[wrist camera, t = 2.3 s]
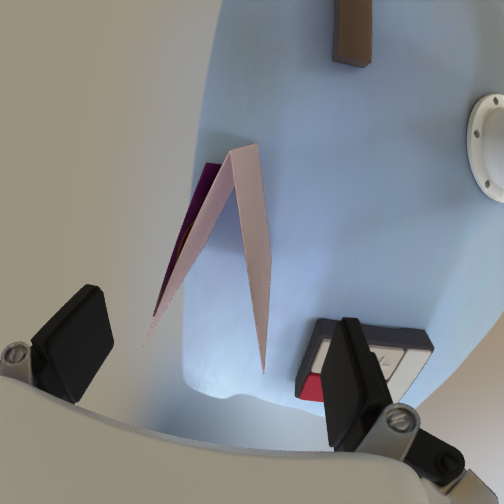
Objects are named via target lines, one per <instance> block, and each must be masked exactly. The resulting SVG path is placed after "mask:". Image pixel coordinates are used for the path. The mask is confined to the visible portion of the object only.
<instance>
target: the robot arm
mask: <svg viewBox="0 0 504 504" xmlns="http://www.w3.org/2000/svg"><path fill="white" fill-rule="evenodd" d="M467 151H468V158H469V162H470V167H471V170H472V173H473V175H474V178H475V180H476V182H477V184H478V185H479V187H480V188H481V189H482V191H483V192H484V193H485V194H486V195H487V196H488V197H490V198H491V199H493V200H495V201H498V202H501V203H504V95H502V94H489V95H486V96H484V97H482V98H481V99H480V100H479V101H478V102H477V103H476V104H475V106H474V108H473V110H472V112H471V114H470V118H469V122H468V128H467ZM31 342H32V346H31V347H30V346H29V345H28V344H26V343H25V342H21V341H20V342H14V343H11V344H10V345H8V346H7V347H6V348H5V349H4V350H3V352H2V354H1V360H0V504H498V503H499V502H498V498H497V496H496V494H495V493H494V492H493V491H492V490H491V489H490V488H489V487H488V486H487V485H486V484H485V483H484V482H483V481H482V480H481V479H480V478H479V477H478V476H477V475H476V474H475V473H474V472H473V471H472V470H471V469H469V470H465V468H464V467H465V460H464V457H463V455H462V453H461V452H460V451H459V450H458V449H456V448H455V447H453V446H451V445H449V444H447V443H445V442H444V441H442V440H440V439H438V438H436V437H435V436H433V435H431V434H429V433H428V432H426V431H424V430H422V429H421V428H420V424H421V422H420V417H419V415H418V413H417V412H416V410H415V409H414V408H412V407H411V406H409V405H406V404H404V403H393V400H392V397H391V394H390V391H389V389H388V386H387V383H386V380H385V377H384V375H383V372H382V369H381V366H380V364H379V361H378V358H377V356H376V354H375V353H374V352H371V351H370V348H369V346H368V343H367V340H366V338H365V335H364V333H363V330H362V327H361V325H360V322H359V320H358V319H357V318H346V317H343V318H342V320H341V321H337V323H336V326H335V329H334V332H333V335H332V339H331V342H330V345H329V348H328V351H327V354H326V357H325V360H324V363H323V366H322V369H321V373H320V379H321V386H322V393H323V401H324V408H325V416H326V424H327V432H328V441H329V446H330V447H334V452H311V451H310V452H309V451H307V452H306V451H282V450H266V449H254V448H244V447H235V446H227V445H220V444H214V443H207V442H202V441H196V440H191V439H186V438H181V437H176V436H172V435H167V434H163V433H159V432H155V431H151V430H148V429H144V428H140V427H137V426H133V425H130V424H127V423H124V422H120V421H117V420H114V419H111V418H108V417H105V416H103V415H100V414H97V413H94V412H92V411H89V410H86V409H84V408H81V407H79V406H76V405H74V404H75V403H76V402H79V401H80V399H81V398H82V396H83V394H84V393H85V391H86V389H87V388H88V386H89V384H90V383H91V381H92V380H93V378H94V376H95V375H96V373H97V372H98V370H99V368H100V367H101V365H102V364H103V362H104V360H105V359H106V357H107V356H108V354H109V353H110V351H111V350H112V348H113V345H114V339H113V335H112V331H111V327H110V323H109V318H108V313H107V308H106V303H105V298H104V294H103V291H101V289H100V288H99V287H98V286H94V285H89V284H86V285H85V286H83V287H82V288H81V289H80V290H79V291H78V292H77V293H76V294H75V295H74V296H73V297H72V298H71V299H70V300H69V301H68V302H67V303H66V304H65V305H64V306H63V307H62V308H61V309H60V310H59V311H58V312H57V313H56V314H55V315H54V316H53V317H52V318H51V319H50V320H49V321H48V322H47V323H46V324H45V325H44V326H43V327H42V328H41V329H40V330H39V331H38V332H37V333H36V335H35V336H34V337H33V338H32V339H31Z"/></svg>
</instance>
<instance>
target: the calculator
mask: <svg viewBox="0 0 504 504" xmlns="http://www.w3.org/2000/svg"><path fill="white" fill-rule="evenodd" d="M336 323H337V321H333V320H327V319H319V320H318V321H317V323H316V326H315V329H314V332H313V335H312V338H311V340H310V343H309V346H308V349H307V351H306V354H305V357H304V359H303V362H302V365H301V367H300V370H299V372H298V375H297V377H296V380H295V397H296V398H299V399H302V400H309V401H318V402H324V401H323V393H322V386H321V379H320V373H321V369H322V366H323V363H324V360H325V357H326V354H327V351H328V348H329V345H330V342H331V339H332V335H333V332H334V329H335V326H336ZM361 327H362V330H363V333H364V335H365V338H366V340H367V343H368V346H369V348H370V351H371V352H374V353H375V354H376V356H377V358H378V361H379V364H380V366H381V369H382V372H383V375H384V377H385V380H386V383H387V386H388V389H389V391H390V394H391V397H392V400H393V403H398V402H399V401H400V400H401V399H402V397H403V396H404V394H405V393H406V392H407V390H408V389H409V388H410V386H411V385H412V383H413V382H414V380H415V379H416V377H417V376H418V374H419V373H420V371H421V370H422V368H423V367H424V365H425V364H426V362H427V361H428V359H429V357H430V356H431V354H432V353H433V351H434V346H433V344H432V342H431V340H430V339H429V337H428V335H427V333H426V331H424V330H417V329H409V328H402V329H400V330H395V329H387V328H380V327H373V326H366V325H361Z"/></svg>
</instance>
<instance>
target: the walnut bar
mask: <svg viewBox="0 0 504 504" xmlns="http://www.w3.org/2000/svg"><path fill="white" fill-rule="evenodd" d="M371 57H372V0H335V11H334V37H333V55H332V61H333V62H338V63H343V64H348V65H353V66H357V67H361V68H364V67H366V66H367V65H368V64H370V63H371Z"/></svg>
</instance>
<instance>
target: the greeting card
mask: <svg viewBox="0 0 504 504" xmlns="http://www.w3.org/2000/svg"><path fill="white" fill-rule="evenodd" d="M234 186H235V190H236V197H237V204H238V211H239V218H240V224H241V231H242V238H243V245H244V252H245V258H246V265H247V272H248V278H249V285H250V292H251V298H252V305H253V311H254V318H255V324H256V331H257V337H258V344H259V350H260V357H261V363H262V369H263V375H264V369H265V355H266V342H267V328H268V313H269V297H270V281H271V264H272V258H271V249H270V240H269V232H268V223H267V214H266V206H265V198H264V189H263V181H262V173H261V165H260V157H259V149H258V143H254V144H250V145H246V146H243V147H239V148H235V149H232V150H230V151H229V153H228V155H227V156H226V158H225V160H224V162H223V164H213V163H206V165H205V167H204V170H203V172H202V175H201V177H200V180H199V182H198V185H197V187H196V190H195V192H194V195H193V198H192V200H191V203H190V205H189V208H188V211H187V214H186V216H185V219H184V222H183V225H182V228H181V230H180V233H179V236H178V239H177V241H176V245H175V247H174V250H173V253H172V256H171V259H170V262H169V265H168V268H167V271H166V274H165V278H164V281H163V284H162V287H161V290H160V294H159V297H158V300H157V304H156V307H155V310H154V314H153V317H154V316H155V317H154V319H153V322H152V325H151V327H150V330H149V333H148V335H147V338H146V341H145V343H144V346H145V344H146V342H147V341H148V339H149V337H150V336H151V334H152V332H153V330H154V329H155V327H156V325H157V323H158V321H159V320H160V318H161V317H162V315H163V313H164V312H165V310H166V308H167V306H168V305H169V303H170V301H171V300H172V298H173V296H174V295H175V293H176V291H177V290H178V288H179V286H180V285H181V283H182V282H183V280H184V278H185V277H186V275H187V273H188V272H189V270H190V269H191V267H192V265H193V264H194V262H195V261H196V259H197V257H198V256H199V254H200V253H201V251H202V249H203V248H204V246H205V244H206V242H207V240H208V238H209V236H210V234H211V232H212V230H213V228H214V226H215V224H216V222H217V220H218V218H219V216H220V214H221V212H222V210H223V208H224V206H225V204H226V202H227V200H228V198H229V196H230V194H231V192H232V190H233V188H234Z"/></svg>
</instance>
